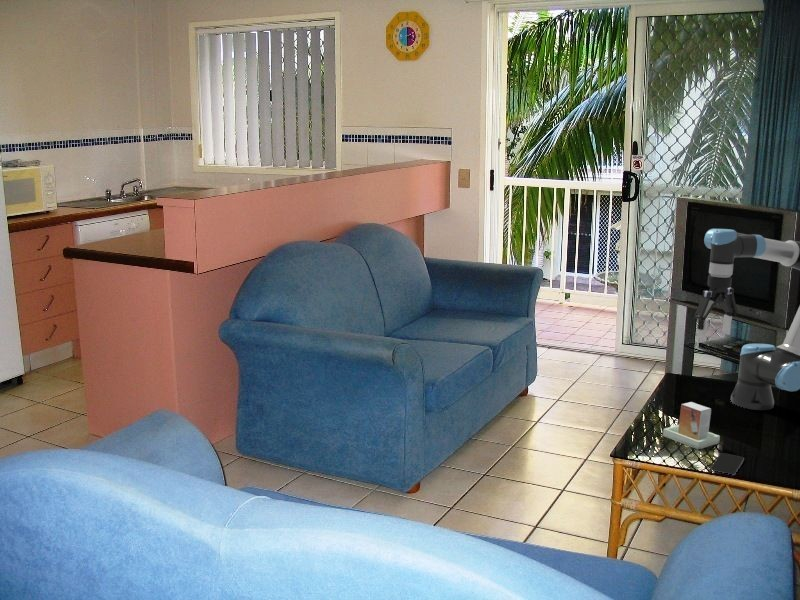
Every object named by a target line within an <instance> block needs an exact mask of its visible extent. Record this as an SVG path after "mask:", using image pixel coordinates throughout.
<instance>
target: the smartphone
mask: <svg viewBox="0 0 800 600" xmlns="http://www.w3.org/2000/svg"><path fill="white" fill-rule="evenodd" d="M744 461H745V458H744V457H743V456H739V455H735V454H730V453H724V452H721V453H719V455H718V456H717V458H716V459H715V461H714V462H713V464H712V466H711V467H710V469H711V470H710V471H712V470H714V471H713V472H715V471H718V472H717V473H719V472H722V473H721V474H724V473H728V474H727V475H729V474H732V475H731V476H735V475H736V474H737V473H738V471H739V470H738V469H740V468H741V466H742V464H743V463H744ZM736 472H737V473H736Z"/></svg>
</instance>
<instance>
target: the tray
mask: <svg viewBox="0 0 800 600" xmlns="http://www.w3.org/2000/svg"><path fill="white" fill-rule="evenodd" d="M678 429H679V424H676V425H673V426H669V427H665V428H663V431H662V432H663V433H662V436H663V437H665V438H667V439H670V440H672V441H675V442H678V443H680V444H682V445H685V446H687V447H691V448H692V449H696V450H700V449H701V450H702V449H704V448H708V447H711V446H714V445H718V444H720V440H721V439H720V437H721V436H720V435H719V434H715V433H713V432H711V431H709V432H708V438H705V439H702V440H699V441H698V440H695V439H692V438H690V437H687V436H684V435H682V434H679V433H678Z"/></svg>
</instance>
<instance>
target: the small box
mask: <svg viewBox="0 0 800 600" xmlns="http://www.w3.org/2000/svg"><path fill="white" fill-rule="evenodd" d="M679 412H680V415H679V420H678V421H679V422H678V425H679V429H678V433H679V434H682V435H684V436H687V437H690V438H692V439H695V440H698V441H699V440H702V439H705V438H708V432H710V430H709V429H710V422H711V415H712V408H710V407H707V406H705V405H702V404H698V403H696V402H693V401H689V402H685V403H681V406H680V411H679Z"/></svg>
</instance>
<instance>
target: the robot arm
mask: <svg viewBox="0 0 800 600" xmlns="http://www.w3.org/2000/svg"><path fill="white" fill-rule="evenodd" d="M703 241H704V242H703V243H704V245H705V247H706V248H707V249H710V255H709V268H708V277H707V286H708V288H709V290H703V291H702V294H701V298H700V300H699V304H698V305H697V308H696V311H695V313H694V315H693V317H694V319H696V320H697V321H698V322H697V335H696V338H697V339H700V340H702V341H705V340H706V335H707V324H708V320H706V319H707V318H708V316H709V315H710V313H711V312H712V310H713V308H714V306H715V305H717V304H719V303H720V305H721V307H722V308H723V311H724V313H725V314H723V320H722V329H721V334H724V335H728V336H730V335H731V330H732V322H733V317H736V315H737V313H738V308H737V302H736V298H735V294H734V293H735V288H733V287H732V281H733V280H732V279H733V278H732V275H734V273H733V272H734V261H735V258H754V259H761V260H766V261H771V262H777V263H780V265H781V266H784V267H787V268H791V269H795V270H798V271H800V241H797V240H790V239H789V240H785V241H783V240H777V239H771V238H766V237H763V235H761V234H755V233H754V234H753V233H752V234H746V233H741V232H737V231H736V230H735V229H730V228H729V229H728V228H710V229H708V230H707V231H706V233H705V235H704V239H703ZM786 333H787V334H786V336H785V338H784V340H783V342H782V344H780V345H778V346H775V345H773V344H769V343H768V344H767V343H747V344H744V345H743V346H742V347H741V350H740V354H739V366H738V373H737V374H738V375H737V376H738V377H737V383H736V384H735V387H734V388H733V390H732V393H731V395H730V400H731V401H730V403H731V402H732V403H731V404H732V405H734V404H735V405H734V406H736V405H737V407H739V406H740V407H739V408H742V407H743V408H742V409H746V408H747V409H748V410H755V411H769V410H772V409H773V408H774V405H775V399H774V395H773V391H772V386H773V387H776V388H777V389H780V390H782V391H783V390H784V391H787V392H797V391H798V390H800V305H799V306H798V308H797V311H796V314H795V315H794V318H793V321H792V322H791V325H790V327H789V329H788V331H787V332H786Z"/></svg>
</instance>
